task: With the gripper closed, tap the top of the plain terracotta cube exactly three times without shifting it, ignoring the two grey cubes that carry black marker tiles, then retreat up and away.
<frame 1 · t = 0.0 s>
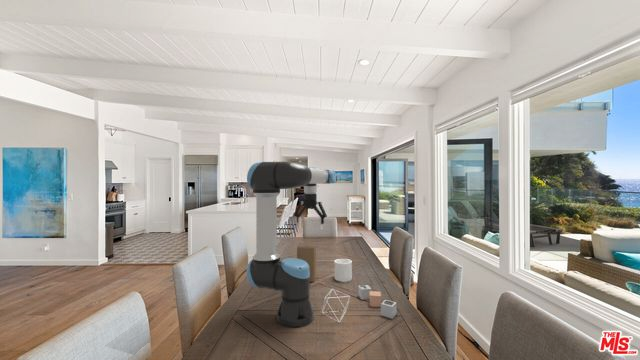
hand: (310, 228, 165), 28 cm above the table, fingers open, 13 cm apart
geometric polyhedron: (335, 315, 117), on the table
marked cube b: (364, 297, 135), on the table
plain cube: (375, 304, 127), on the table
mug: (342, 278, 161), on the table
marked cube a: (388, 314, 117), on the table
block: (306, 279, 159), on the table
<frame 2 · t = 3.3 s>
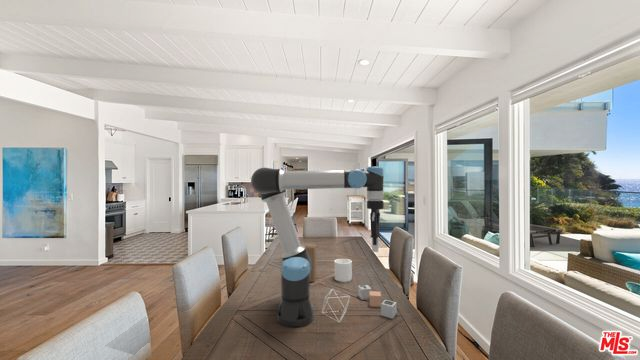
hand: (375, 251, 127), 24 cm above the table, fingers closed
nothing on the table moved.
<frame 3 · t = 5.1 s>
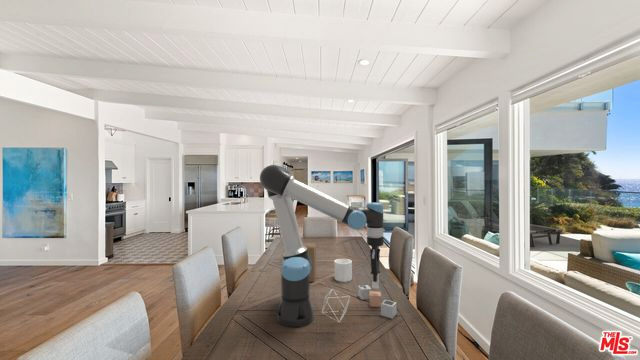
hand: (375, 287, 127), 8 cm above the table, fingers closed
nothing on the table moved.
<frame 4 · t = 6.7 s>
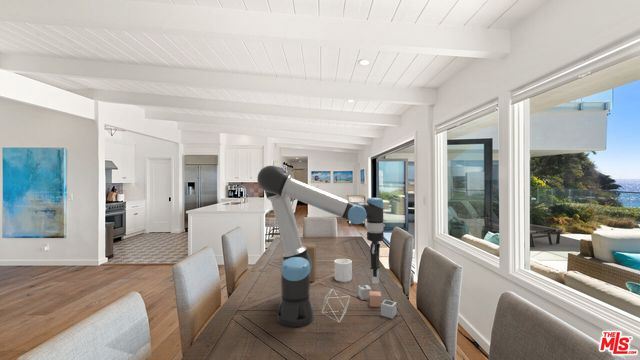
hand: (375, 282, 127), 10 cm above the table, fingers closed
nothing on the table moved.
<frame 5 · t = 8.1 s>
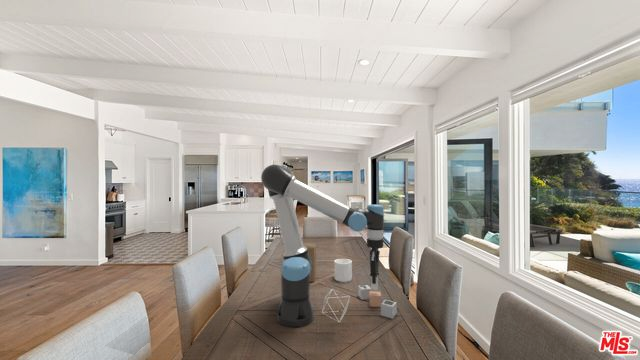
hand: (374, 289, 127), 7 cm above the table, fingers closed
nothing on the table moved.
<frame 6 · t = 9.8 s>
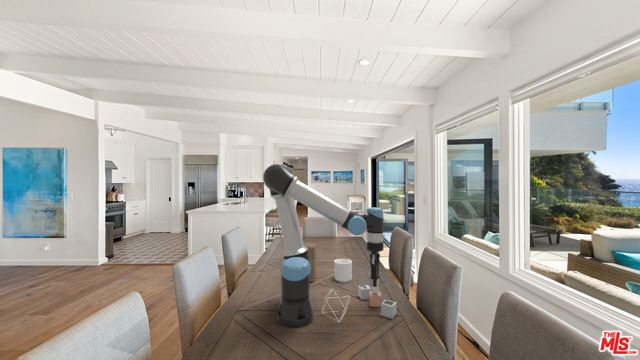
hand: (375, 292, 127), 5 cm above the table, fingers closed
nothing on the table moved.
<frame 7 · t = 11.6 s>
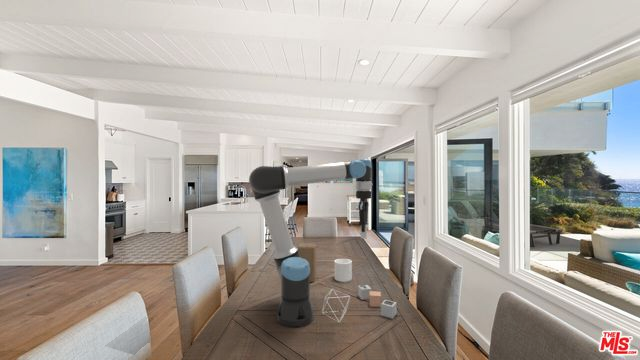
hand: (363, 238, 137), 28 cm above the table, fingers closed
nothing on the table moved.
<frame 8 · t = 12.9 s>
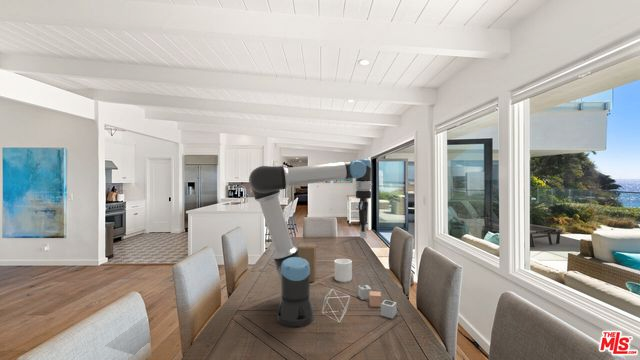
hand: (363, 237, 137), 28 cm above the table, fingers closed
nothing on the table moved.
at the end: plain cube moved 0.1 cm from its start; plain cube tilted 0°; plain cube touching table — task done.
